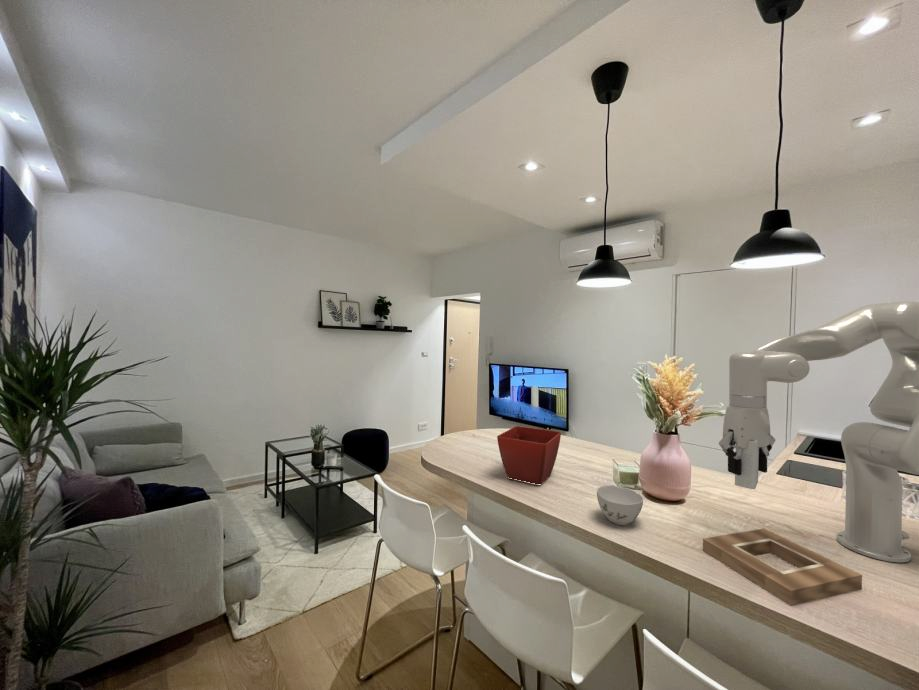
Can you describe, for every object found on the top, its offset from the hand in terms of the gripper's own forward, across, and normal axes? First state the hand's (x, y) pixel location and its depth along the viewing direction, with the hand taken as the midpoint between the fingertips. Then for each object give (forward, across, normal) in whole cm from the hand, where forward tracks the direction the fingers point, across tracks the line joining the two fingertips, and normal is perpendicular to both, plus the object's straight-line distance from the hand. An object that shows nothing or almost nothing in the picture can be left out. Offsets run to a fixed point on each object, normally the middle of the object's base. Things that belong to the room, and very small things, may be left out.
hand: (747, 471), depth 94 cm
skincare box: (+4, 0, 0) cm, 4 cm away
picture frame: (+19, +2, +8) cm, 21 cm away
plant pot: (+19, +35, -57) cm, 69 cm away
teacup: (+19, +22, -20) cm, 35 cm away
